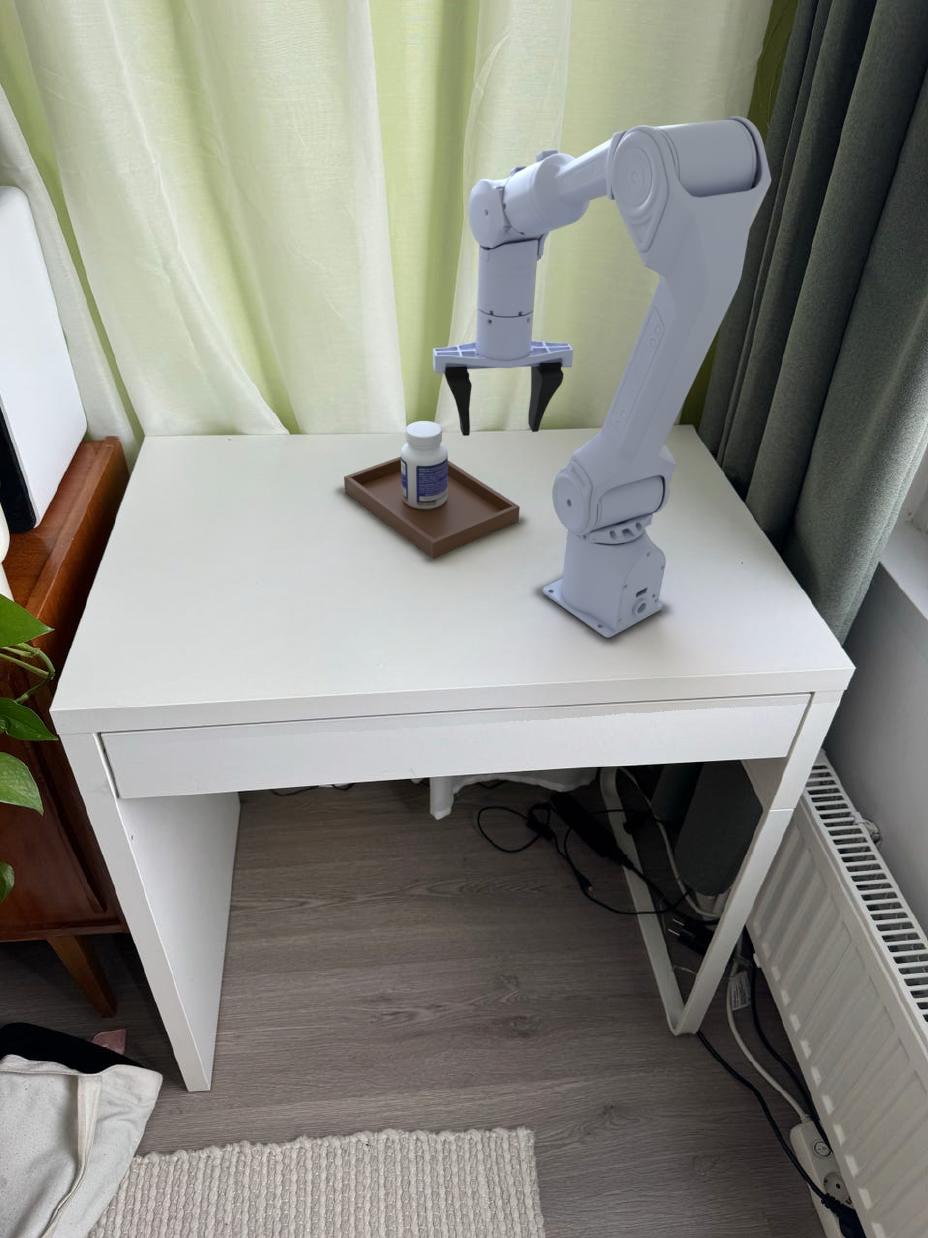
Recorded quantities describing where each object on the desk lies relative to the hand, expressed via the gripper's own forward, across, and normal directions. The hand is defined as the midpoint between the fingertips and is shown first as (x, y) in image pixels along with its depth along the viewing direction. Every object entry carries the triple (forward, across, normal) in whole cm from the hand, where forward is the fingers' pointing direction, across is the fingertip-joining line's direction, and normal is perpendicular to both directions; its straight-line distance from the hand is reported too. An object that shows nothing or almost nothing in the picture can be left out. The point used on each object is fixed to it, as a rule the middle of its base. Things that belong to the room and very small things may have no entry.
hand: (499, 429), depth 102 cm
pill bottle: (+9, +8, -1) cm, 12 cm away
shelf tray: (+10, +8, 0) cm, 12 cm away
